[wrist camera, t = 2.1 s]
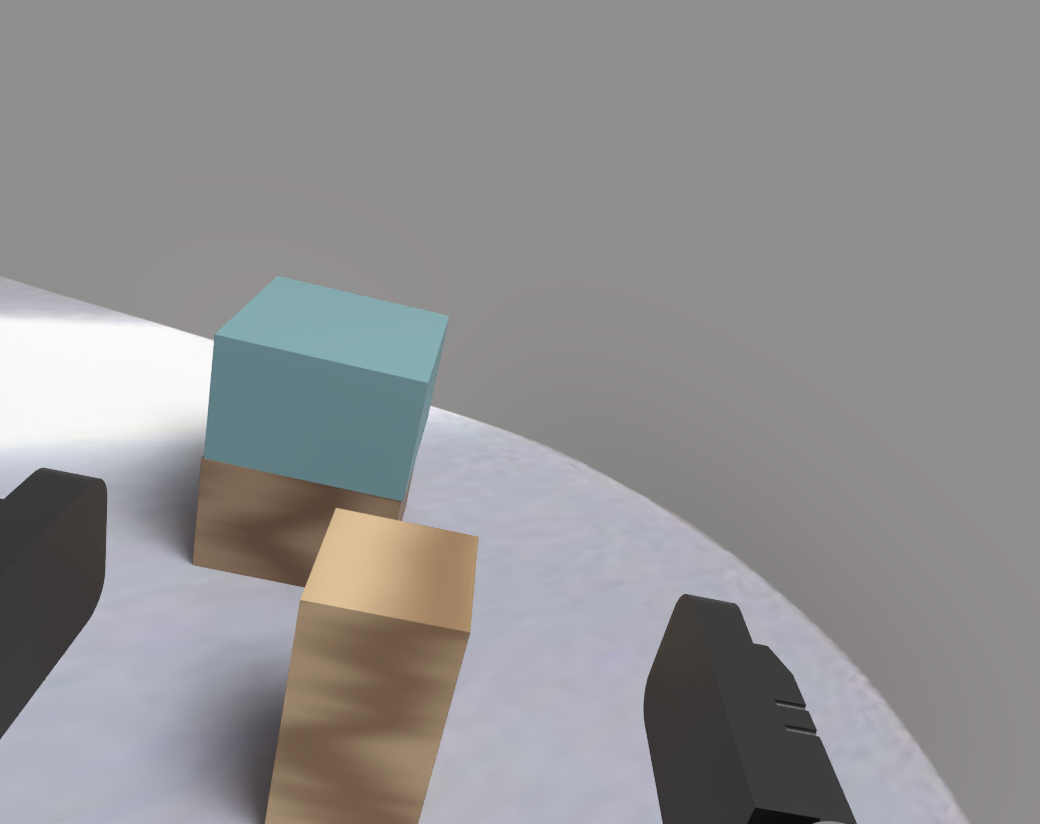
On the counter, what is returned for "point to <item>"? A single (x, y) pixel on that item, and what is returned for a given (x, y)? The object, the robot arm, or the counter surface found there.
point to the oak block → (372, 672)
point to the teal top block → (324, 387)
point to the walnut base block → (271, 520)
